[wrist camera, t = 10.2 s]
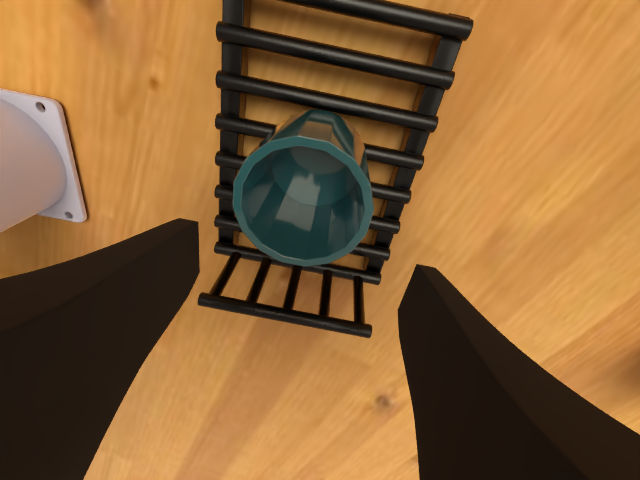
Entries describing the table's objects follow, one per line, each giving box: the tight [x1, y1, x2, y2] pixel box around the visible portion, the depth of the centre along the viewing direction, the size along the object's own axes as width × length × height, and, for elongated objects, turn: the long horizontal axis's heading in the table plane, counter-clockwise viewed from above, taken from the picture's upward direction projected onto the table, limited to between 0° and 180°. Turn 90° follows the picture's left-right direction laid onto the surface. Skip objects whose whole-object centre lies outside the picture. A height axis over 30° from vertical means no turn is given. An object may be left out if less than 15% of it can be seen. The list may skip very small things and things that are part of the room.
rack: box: [198, 0, 473, 338], centre depth 16 cm, size 11×15×7 cm
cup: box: [233, 109, 374, 266], centre depth 14 cm, size 5×5×6 cm
